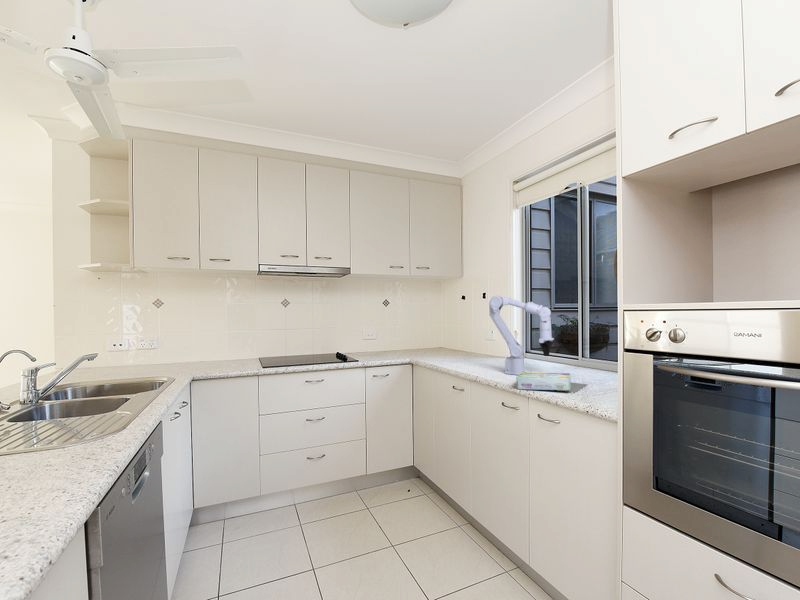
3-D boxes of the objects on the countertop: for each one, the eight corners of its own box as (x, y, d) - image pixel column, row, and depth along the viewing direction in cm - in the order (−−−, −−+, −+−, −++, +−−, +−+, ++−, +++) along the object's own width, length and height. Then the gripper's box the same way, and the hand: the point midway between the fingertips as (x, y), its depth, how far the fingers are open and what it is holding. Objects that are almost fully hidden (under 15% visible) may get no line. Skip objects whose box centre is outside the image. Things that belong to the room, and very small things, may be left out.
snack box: (569, 371, 165) (569, 378, 152) (570, 384, 165) (570, 391, 151) (520, 371, 174) (516, 377, 161) (521, 383, 174) (517, 390, 160)
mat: (545, 389, 160) (545, 388, 160) (560, 382, 175) (560, 381, 175) (574, 393, 152) (574, 392, 152) (587, 385, 168) (587, 384, 168)
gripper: (548, 330, 185) (549, 357, 184) (557, 329, 196) (558, 354, 195) (534, 330, 190) (535, 356, 189) (544, 329, 201) (545, 354, 200)
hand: (546, 355), depth 193 cm, fingers closed
